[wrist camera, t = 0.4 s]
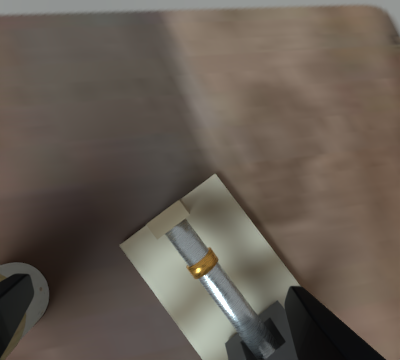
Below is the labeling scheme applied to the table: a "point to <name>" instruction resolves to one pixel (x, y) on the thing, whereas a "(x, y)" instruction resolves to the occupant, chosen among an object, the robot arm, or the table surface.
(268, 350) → the rod
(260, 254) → the stand
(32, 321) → the coffee cup
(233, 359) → the collar
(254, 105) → the table surface
